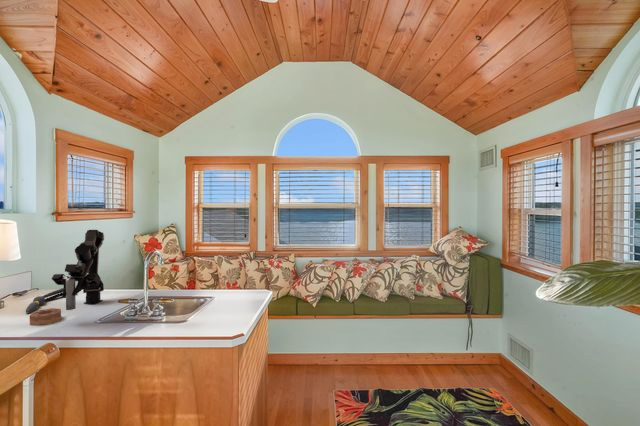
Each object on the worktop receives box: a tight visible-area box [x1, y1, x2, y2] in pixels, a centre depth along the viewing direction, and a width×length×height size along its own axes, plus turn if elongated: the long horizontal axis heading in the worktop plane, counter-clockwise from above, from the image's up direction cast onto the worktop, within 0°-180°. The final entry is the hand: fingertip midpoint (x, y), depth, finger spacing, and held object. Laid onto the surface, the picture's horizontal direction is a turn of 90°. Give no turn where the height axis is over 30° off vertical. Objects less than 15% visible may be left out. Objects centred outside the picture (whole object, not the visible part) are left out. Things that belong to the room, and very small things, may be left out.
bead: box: [29, 307, 62, 326], centre depth 155 cm, size 11×11×4 cm
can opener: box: [42, 287, 66, 303], centre depth 189 cm, size 18×7×6 cm, turn 160°
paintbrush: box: [25, 295, 46, 314], centre depth 172 cm, size 20×5×5 cm, turn 28°
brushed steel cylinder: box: [65, 278, 77, 311], centre depth 151 cm, size 4×4×14 cm
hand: (68, 295), depth 150 cm, fingers closed on brushed steel cylinder, 3 cm apart
